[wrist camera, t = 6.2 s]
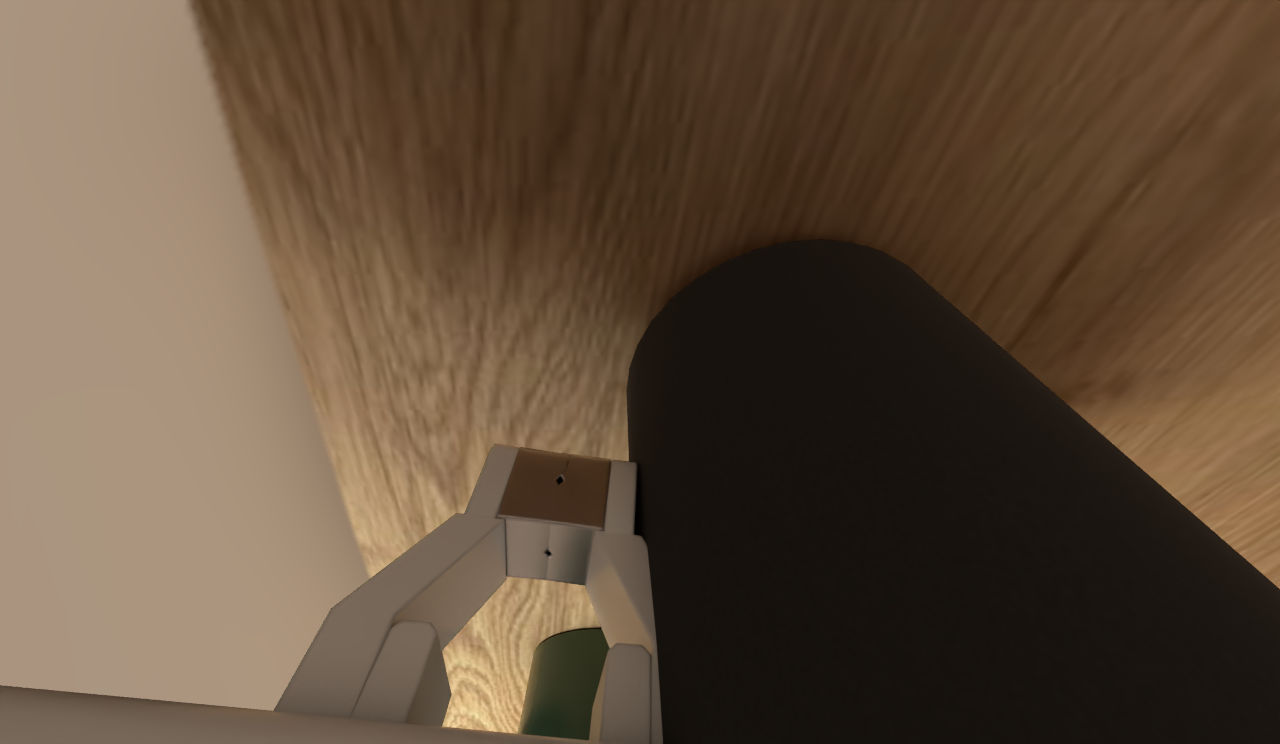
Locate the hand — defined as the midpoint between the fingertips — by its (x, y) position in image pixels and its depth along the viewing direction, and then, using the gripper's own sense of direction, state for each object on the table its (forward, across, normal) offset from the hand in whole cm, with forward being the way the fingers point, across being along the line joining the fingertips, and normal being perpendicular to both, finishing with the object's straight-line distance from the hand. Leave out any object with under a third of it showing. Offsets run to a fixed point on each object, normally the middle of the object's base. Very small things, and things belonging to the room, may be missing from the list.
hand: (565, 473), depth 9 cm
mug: (+4, -7, 0) cm, 8 cm away
